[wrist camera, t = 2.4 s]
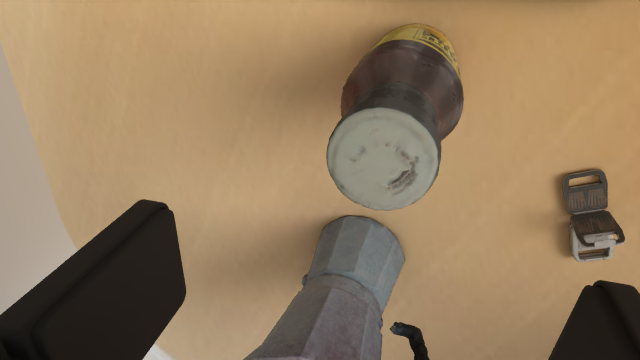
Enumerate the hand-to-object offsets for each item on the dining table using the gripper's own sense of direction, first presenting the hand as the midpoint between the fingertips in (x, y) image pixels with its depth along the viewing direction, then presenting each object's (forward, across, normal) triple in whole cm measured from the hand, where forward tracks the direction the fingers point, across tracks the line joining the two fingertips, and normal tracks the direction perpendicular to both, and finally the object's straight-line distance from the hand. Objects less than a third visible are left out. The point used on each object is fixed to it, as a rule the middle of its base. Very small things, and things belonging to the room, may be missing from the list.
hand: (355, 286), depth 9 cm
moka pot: (+26, +2, +19) cm, 32 cm away
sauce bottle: (+26, 0, 0) cm, 26 cm away
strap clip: (+25, -16, +11) cm, 32 cm away
